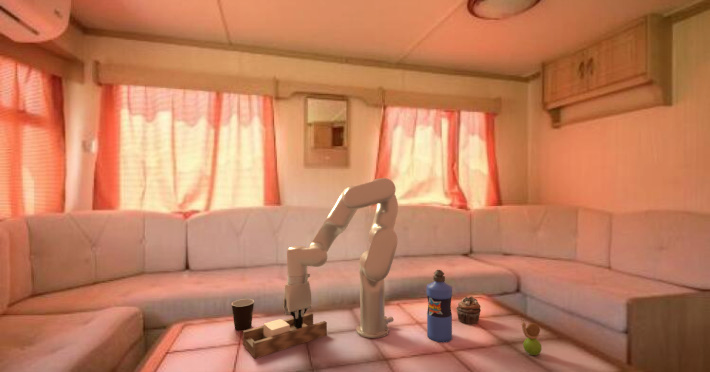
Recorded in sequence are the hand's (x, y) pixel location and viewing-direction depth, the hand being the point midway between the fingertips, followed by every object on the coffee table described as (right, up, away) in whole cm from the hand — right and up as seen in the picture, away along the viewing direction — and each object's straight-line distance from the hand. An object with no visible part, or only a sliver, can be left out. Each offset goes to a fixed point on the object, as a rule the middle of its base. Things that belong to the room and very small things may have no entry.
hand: (298, 327), depth 126 cm
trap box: (-4, -4, -3) cm, 6 cm away
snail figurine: (+81, -3, -15) cm, 82 cm away
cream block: (-7, -1, -6) cm, 9 cm away
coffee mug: (-24, -4, +10) cm, 26 cm away
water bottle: (+53, -3, -1) cm, 54 cm away
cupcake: (+69, -3, +13) cm, 70 cm away
